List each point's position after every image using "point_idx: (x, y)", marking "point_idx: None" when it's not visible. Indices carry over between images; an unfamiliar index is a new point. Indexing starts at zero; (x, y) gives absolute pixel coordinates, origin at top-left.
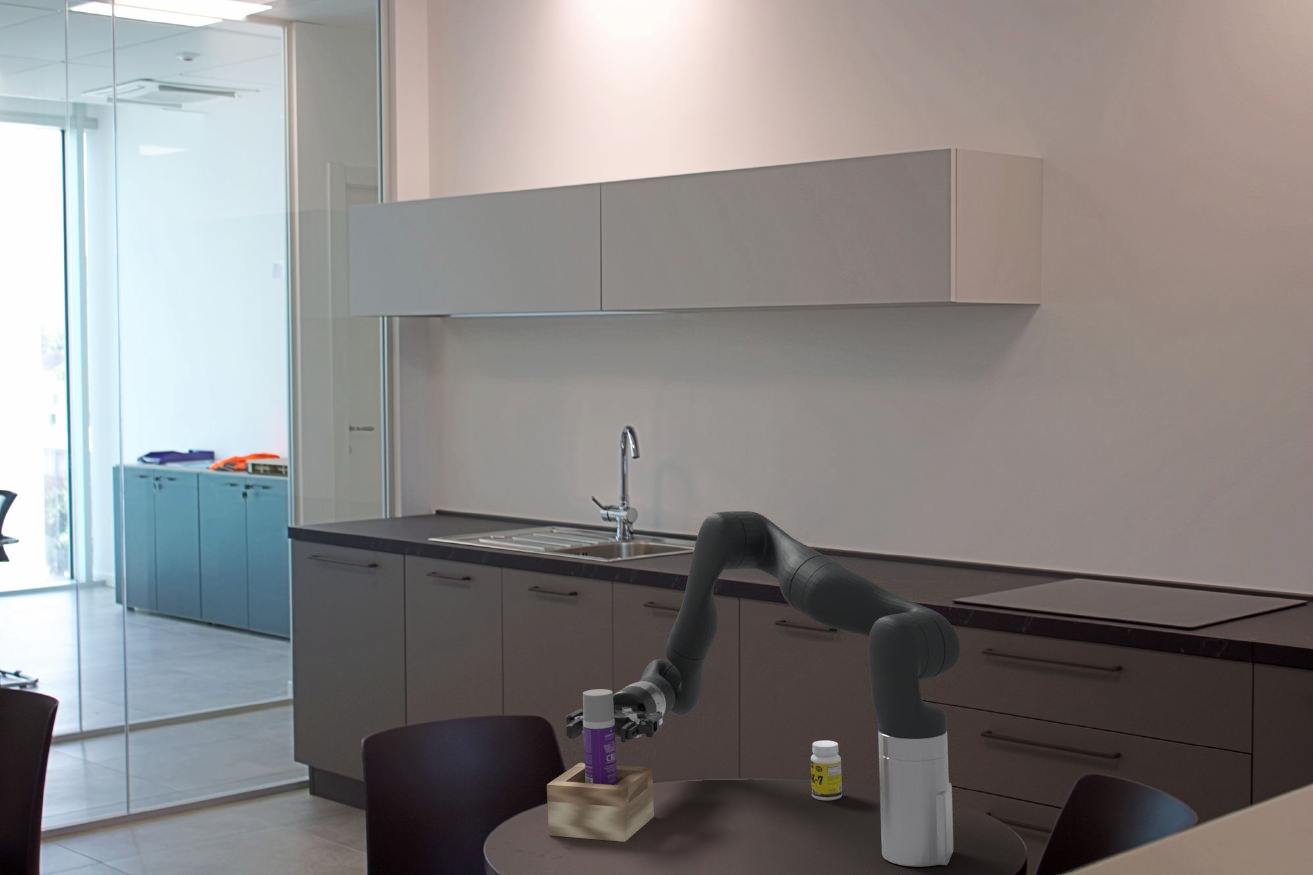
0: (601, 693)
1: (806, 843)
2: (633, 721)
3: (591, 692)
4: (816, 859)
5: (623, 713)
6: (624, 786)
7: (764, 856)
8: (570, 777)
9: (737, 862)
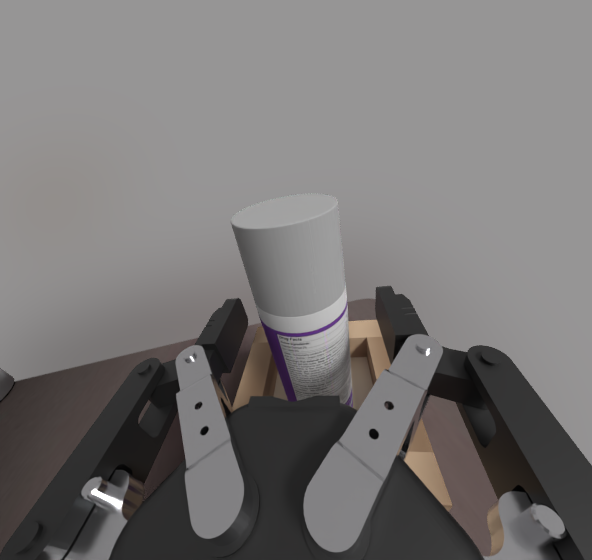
0: (266, 206)
1: (51, 423)
2: (201, 346)
3: (305, 203)
4: (78, 375)
5: (243, 467)
6: (258, 340)
7: (125, 370)
8: (373, 360)
9: (158, 350)
